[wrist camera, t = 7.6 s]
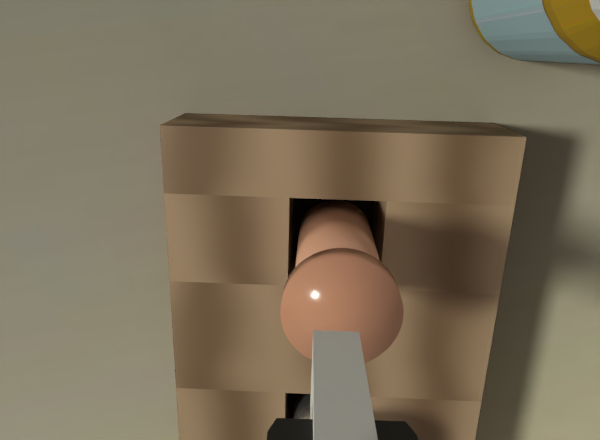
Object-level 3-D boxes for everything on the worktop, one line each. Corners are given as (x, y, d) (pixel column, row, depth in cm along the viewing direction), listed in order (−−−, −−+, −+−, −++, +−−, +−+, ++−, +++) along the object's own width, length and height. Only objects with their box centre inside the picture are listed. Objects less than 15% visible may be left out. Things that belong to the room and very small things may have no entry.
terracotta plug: (290, 271, 29) (279, 364, 21) (292, 191, 27) (281, 255, 19) (374, 275, 29) (397, 369, 20) (381, 194, 27) (409, 260, 19)
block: (200, 441, 37) (183, 498, 33) (185, 113, 30) (159, 125, 25) (444, 452, 37) (462, 512, 32) (493, 123, 29) (526, 137, 25)
